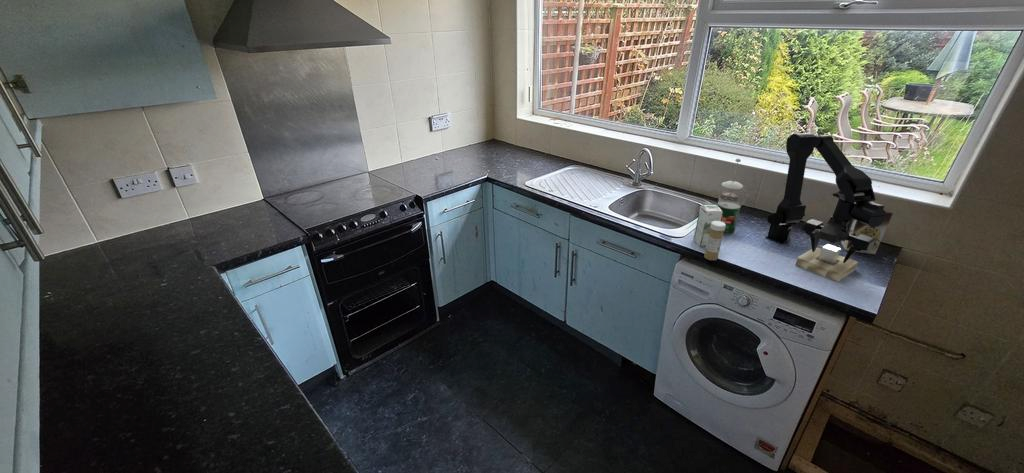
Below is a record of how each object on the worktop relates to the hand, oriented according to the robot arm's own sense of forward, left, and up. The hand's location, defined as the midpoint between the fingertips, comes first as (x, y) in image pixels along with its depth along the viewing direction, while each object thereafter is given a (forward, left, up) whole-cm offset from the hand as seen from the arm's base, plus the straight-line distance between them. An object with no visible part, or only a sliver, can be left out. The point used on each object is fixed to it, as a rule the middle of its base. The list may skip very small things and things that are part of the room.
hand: (828, 257), depth 143 cm
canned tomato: (-36, -1, -4) cm, 36 cm away
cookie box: (+1, +24, -4) cm, 24 cm away
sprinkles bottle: (-26, -25, -4) cm, 36 cm away
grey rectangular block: (0, 0, -4) cm, 4 cm away
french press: (-43, +13, -4) cm, 45 cm away
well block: (0, 0, -4) cm, 4 cm away
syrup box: (-34, -17, -4) cm, 38 cm away
